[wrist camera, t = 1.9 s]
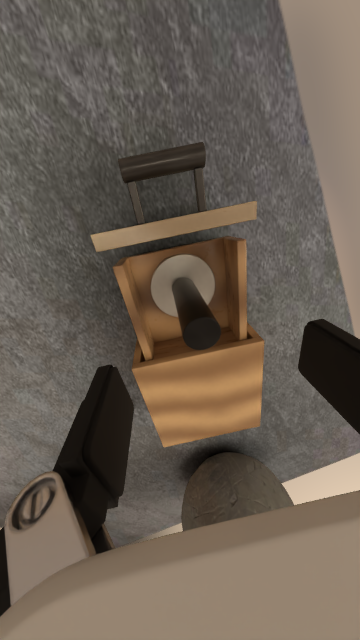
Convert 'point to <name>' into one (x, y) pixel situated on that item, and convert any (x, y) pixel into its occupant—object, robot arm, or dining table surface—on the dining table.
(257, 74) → the dining table surface
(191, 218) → the drawer
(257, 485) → the bowl
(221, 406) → the cabinet
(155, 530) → the dining table surface
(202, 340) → the rod on disc base
